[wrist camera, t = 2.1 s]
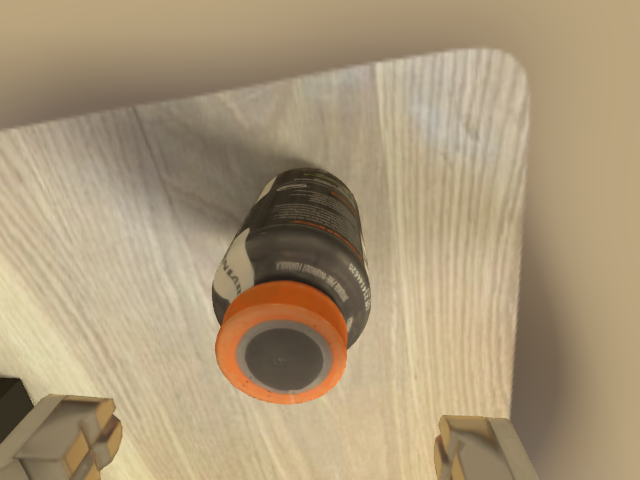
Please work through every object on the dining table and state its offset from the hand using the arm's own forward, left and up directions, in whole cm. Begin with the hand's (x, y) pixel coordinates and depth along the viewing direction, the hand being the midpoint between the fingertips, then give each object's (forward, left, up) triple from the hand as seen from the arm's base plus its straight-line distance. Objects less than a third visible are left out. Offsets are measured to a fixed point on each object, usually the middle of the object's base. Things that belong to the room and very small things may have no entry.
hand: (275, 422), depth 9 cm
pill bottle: (0, 0, -13) cm, 13 cm away
